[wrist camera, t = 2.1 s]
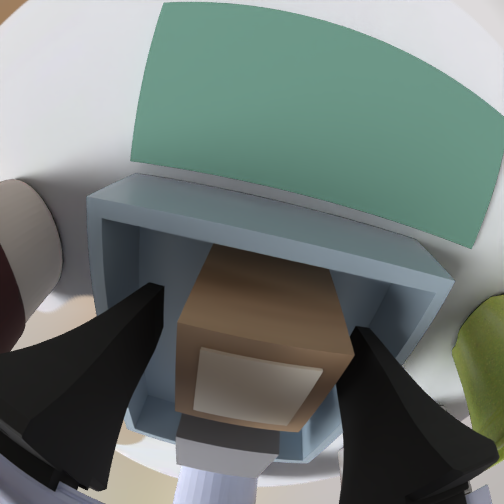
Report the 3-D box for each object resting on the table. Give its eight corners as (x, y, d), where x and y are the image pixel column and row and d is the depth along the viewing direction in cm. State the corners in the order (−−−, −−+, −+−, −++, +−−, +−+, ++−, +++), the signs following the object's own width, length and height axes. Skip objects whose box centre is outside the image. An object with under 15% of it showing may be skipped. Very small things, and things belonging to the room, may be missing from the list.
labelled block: (294, 342, 13) (298, 434, 8) (202, 323, 13) (174, 413, 8) (326, 263, 11) (355, 358, 6) (216, 238, 11) (176, 324, 6)
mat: (462, 242, 10) (471, 249, 10) (139, 157, 10) (130, 161, 9) (498, 119, 8) (509, 121, 7) (170, 9, 7) (163, 2, 6)
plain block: (261, 412, 16) (256, 478, 12) (193, 398, 16) (176, 464, 11) (280, 373, 14) (279, 454, 10) (198, 356, 14) (175, 436, 9)
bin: (306, 423, 17) (307, 463, 14) (142, 391, 17) (127, 429, 14) (415, 239, 11) (455, 280, 7) (135, 173, 10) (86, 196, 7)
